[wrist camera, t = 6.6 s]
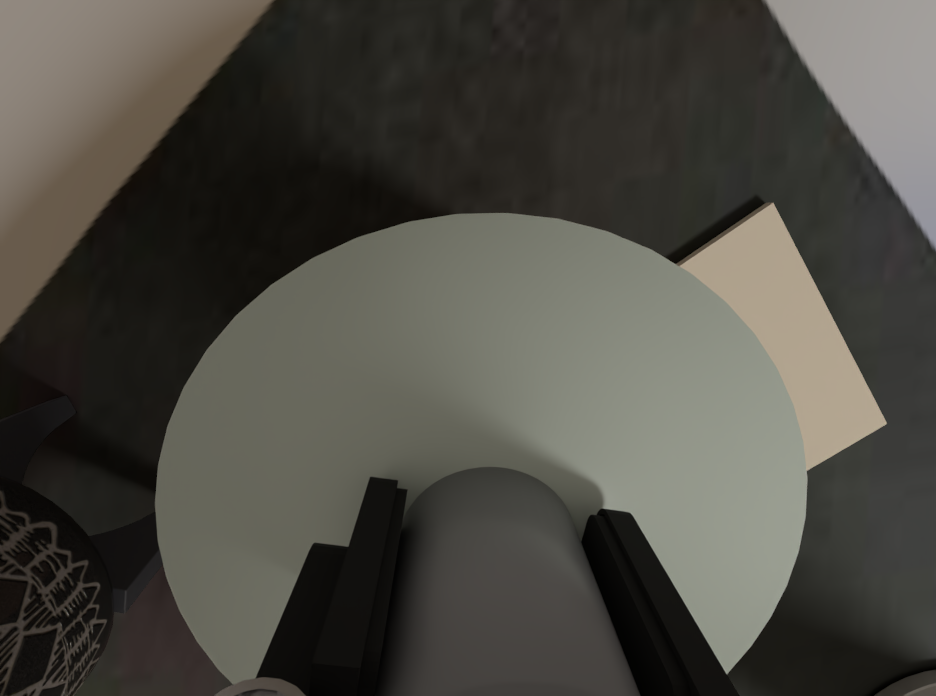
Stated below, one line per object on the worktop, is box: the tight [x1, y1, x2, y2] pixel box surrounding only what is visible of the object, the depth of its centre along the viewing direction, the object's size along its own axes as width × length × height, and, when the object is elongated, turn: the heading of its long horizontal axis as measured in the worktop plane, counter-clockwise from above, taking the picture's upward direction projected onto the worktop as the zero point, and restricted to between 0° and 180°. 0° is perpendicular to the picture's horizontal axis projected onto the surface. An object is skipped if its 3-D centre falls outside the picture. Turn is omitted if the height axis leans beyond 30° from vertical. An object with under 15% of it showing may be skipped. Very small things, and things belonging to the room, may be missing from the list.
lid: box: [155, 213, 807, 696], centre depth 8 cm, size 13×13×5 cm
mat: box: [676, 203, 887, 471], centre depth 27 cm, size 15×14×1 cm
